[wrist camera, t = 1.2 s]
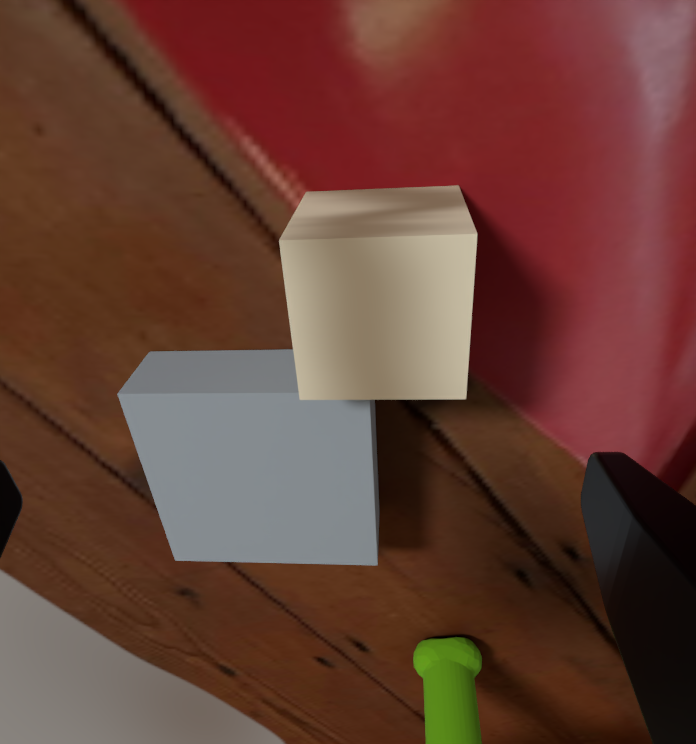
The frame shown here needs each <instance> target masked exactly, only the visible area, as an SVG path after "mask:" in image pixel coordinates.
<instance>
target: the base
mask: <svg viewBox="0 0 696 744" xmlns="http://www.w3.org/2000/svg"><path fill="white" fill-rule="evenodd" d="M118 397H119V400H120V403H121V406H122V409H123V412H124V415H125V417H126V420H127V423H128V426H129V429H130V432H131V435H132V438H133V440H134V443H135V446H136V449H137V452H138V455H139V458H140V461H141V463H142V466H143V469H144V472H145V475H146V478H147V481H148V484H149V486H150V489H151V492H152V495H153V498H154V501H155V504H156V507H157V509H158V512H159V515H160V518H161V521H162V524H163V527H164V530H165V533H166V535H167V538H168V541H169V544H170V547H171V550H172V553H173V556H174V558H175V561H217V562H259V563H300V564H342V565H378V540H379V489H378V465H377V441H376V417H375V400H300V399H299V391H298V383H297V375H296V368H295V360H294V352H293V350H226V351H158V352H149V353H148V354H147V356H146V357H145V358H144V360H143V361H142V362H141V364H140V365H139V366H138V367H137V369H136V370H135V371H134V373H133V374H132V375H131V377H130V378H129V379H128V381H127V382H126V383H125V385H124V386H123V387H122V388H121V390H120V391H119V392H118Z"/></svg>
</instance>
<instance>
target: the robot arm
mask: <svg viewBox="0 0 696 744" xmlns="http://www.w3.org/2000/svg"><path fill="white" fill-rule="evenodd" d="M581 508H582V513H583V518H584V522H585V526H586V530H587V535H588V539H589V543H590V547H591V552H592V556H593V560H594V564H595V569H596V573H597V577H598V581H599V586H600V590H601V594H602V598H603V602H604V606H605V610H606V613H607V616H608V619H609V622H610V625H611V628H612V631H613V634H614V637H615V639H616V642H617V645H618V648H619V651H620V653H621V656H622V659H623V662H624V664H625V667H626V670H627V673H628V676H629V678H630V681H631V684H632V687H633V689H634V692H635V695H636V698H637V701H638V703H639V706H640V709H641V712H642V715H643V717H644V720H645V723H646V726H647V728H648V731H649V734H650V737H651V740H652V742H653V744H696V505H694V504H693V503H691V502H690V501H689V500H687V499H686V498H685V497H683V496H682V495H681V494H679V493H678V492H676V491H675V490H674V489H672V488H671V487H670V486H668V485H667V484H666V483H664V482H663V481H661V480H660V479H659V478H657V477H656V476H655V475H653V474H652V473H651V472H649V471H648V470H646V469H645V468H644V467H642V466H641V465H640V464H638V463H637V462H636V461H634V460H633V459H631V458H630V457H629V456H627V455H626V454H624V453H621V452H595V453H593V454H591V455H590V457H589V459H588V463H587V468H586V473H585V478H584V483H583V487H582V492H581ZM21 509H22V495H21V493H20V491H19V489H18V487H17V485H16V483H15V481H14V480H13V478H12V476H11V474H10V472H9V470H8V469H7V467H6V465H5V464H4V462H2V461H1V460H0V558H1V555H2V553H3V551H4V549H5V546H6V544H7V542H8V539H9V537H10V535H11V532H12V530H13V528H14V526H15V523H16V521H17V519H18V516H19V514H20V512H21Z"/></svg>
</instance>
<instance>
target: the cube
mask: <svg viewBox="0 0 696 744" xmlns="http://www.w3.org/2000/svg"><path fill="white" fill-rule="evenodd" d="M279 244H280V252H281V260H282V267H283V275H284V283H285V290H286V298H287V306H288V314H289V321H290V329H291V337H292V344H293V352H294V360H295V368H296V375H297V383H298V391H299V399H300V400H428V399H466V394H467V379H468V365H469V350H470V336H471V321H472V307H473V292H474V278H475V263H476V249H477V231H476V229H475V226H474V224H473V221H472V218H471V216H470V213H469V211H468V208H467V206H466V203H465V201H464V198H463V195H462V193H461V190H460V188H459V186H436V187H412V188H388V189H364V190H340V191H316V192H306V193H305V195H304V197H303V199H302V200H301V202H300V204H299V206H298V207H297V209H296V211H295V213H294V215H293V216H292V218H291V220H290V222H289V223H288V225H287V227H286V229H285V231H284V232H283V234H282V236H281V238H280V240H279Z"/></svg>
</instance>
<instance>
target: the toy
mask: <svg viewBox="0 0 696 744" xmlns="http://www.w3.org/2000/svg"><path fill="white" fill-rule="evenodd" d="M413 662H414V667H415V669H416V671H417V673H418V674H419V675H420V676H421V677H422V678H423V683H424V708H425V733H426V744H482V740H481V732H480V723H479V715H478V706H477V698H476V689H475V681H474V677H476V675H477V674H478V673H479V672H480V670H481V665H482V657H481V654H480V651H479V649H478V648H477V647H476V645H475V644H474V643H473V642H472V641H471V640H469V639H468V638H462V637H452V638H443V639H427V640H423V641H421V642H420V643H419V644H418V645H417V647H416V650H415V652H414V657H413Z"/></svg>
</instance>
